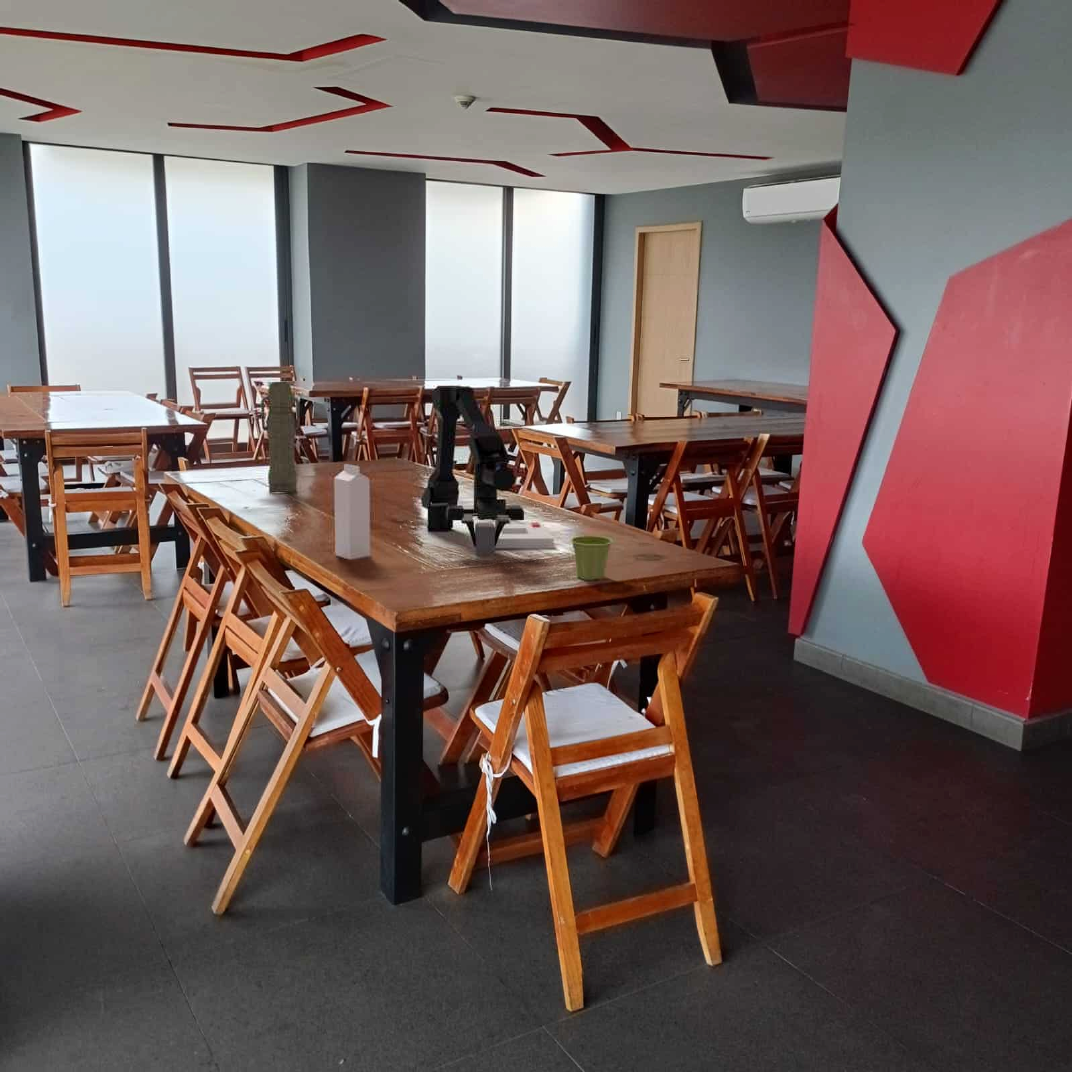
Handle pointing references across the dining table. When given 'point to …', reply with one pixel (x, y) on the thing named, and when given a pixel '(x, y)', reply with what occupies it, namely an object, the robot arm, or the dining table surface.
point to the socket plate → (525, 536)
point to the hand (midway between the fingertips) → (484, 547)
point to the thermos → (281, 436)
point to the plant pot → (591, 556)
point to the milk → (352, 513)
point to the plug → (485, 538)
